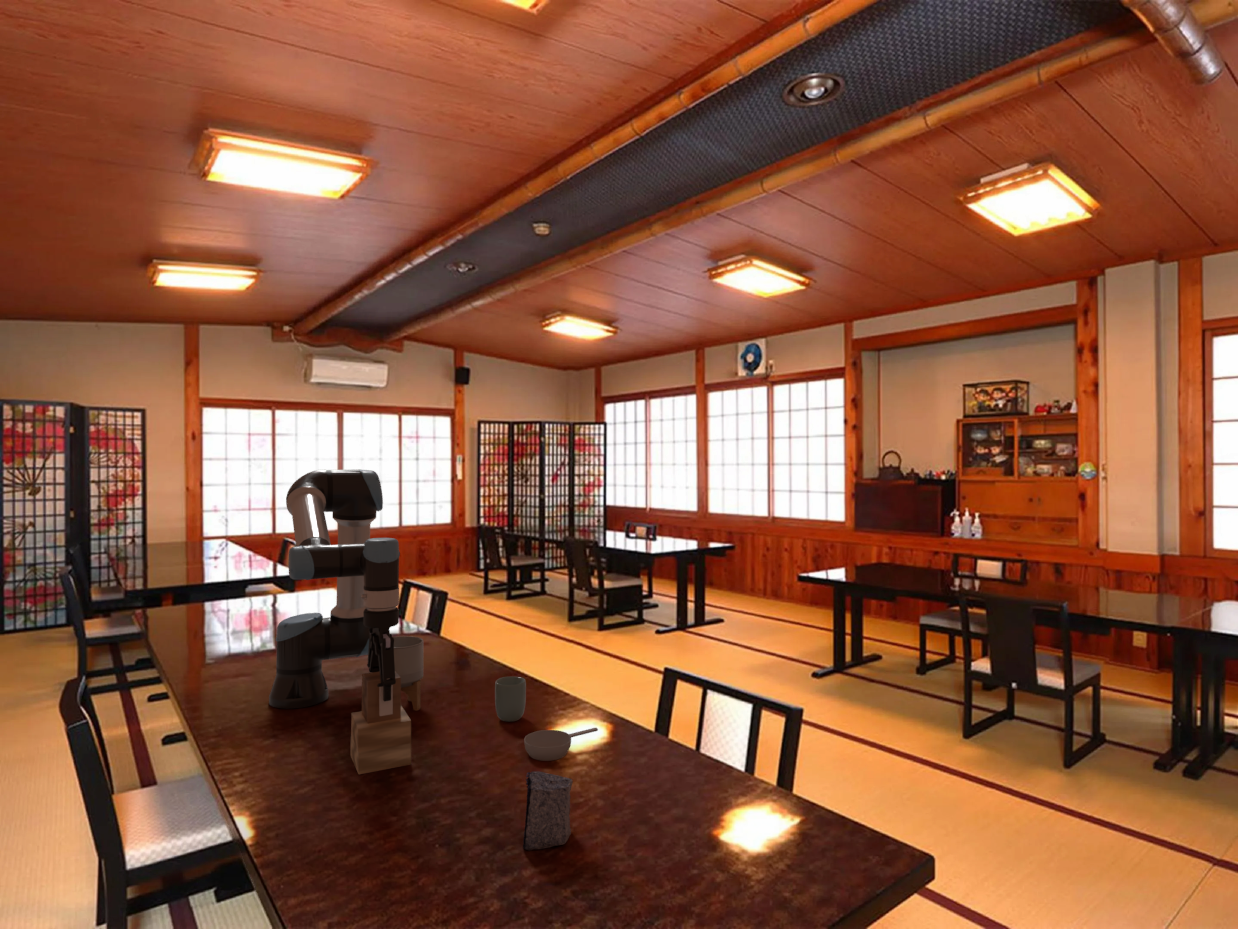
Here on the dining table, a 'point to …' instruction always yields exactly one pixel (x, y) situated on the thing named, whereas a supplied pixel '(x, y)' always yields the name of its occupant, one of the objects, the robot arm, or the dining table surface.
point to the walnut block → (372, 698)
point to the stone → (547, 810)
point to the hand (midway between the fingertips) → (380, 707)
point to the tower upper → (380, 732)
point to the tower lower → (380, 758)
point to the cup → (510, 698)
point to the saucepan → (550, 743)
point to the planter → (409, 666)
